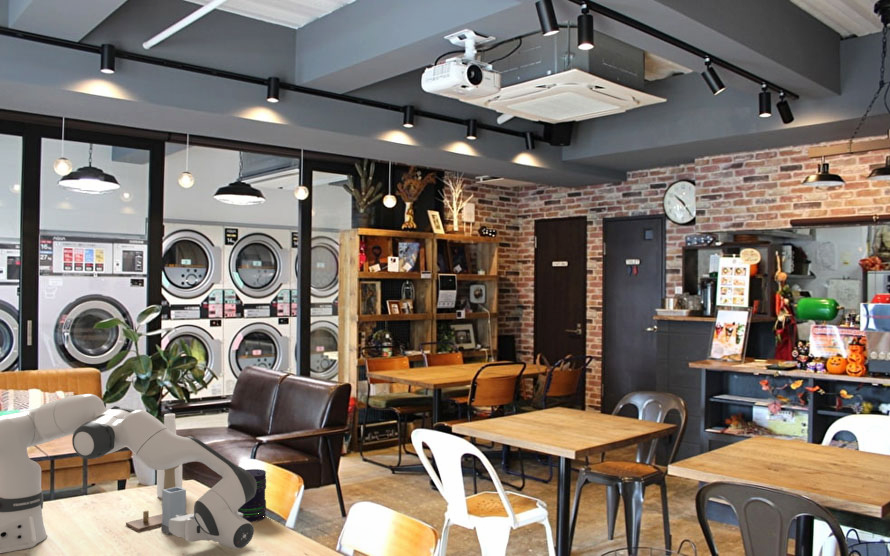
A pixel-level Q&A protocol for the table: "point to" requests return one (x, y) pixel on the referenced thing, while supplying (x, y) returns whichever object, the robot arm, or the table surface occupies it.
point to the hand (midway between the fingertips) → (191, 513)
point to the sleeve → (172, 505)
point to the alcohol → (170, 424)
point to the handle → (169, 478)
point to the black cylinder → (256, 498)
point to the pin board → (146, 522)
